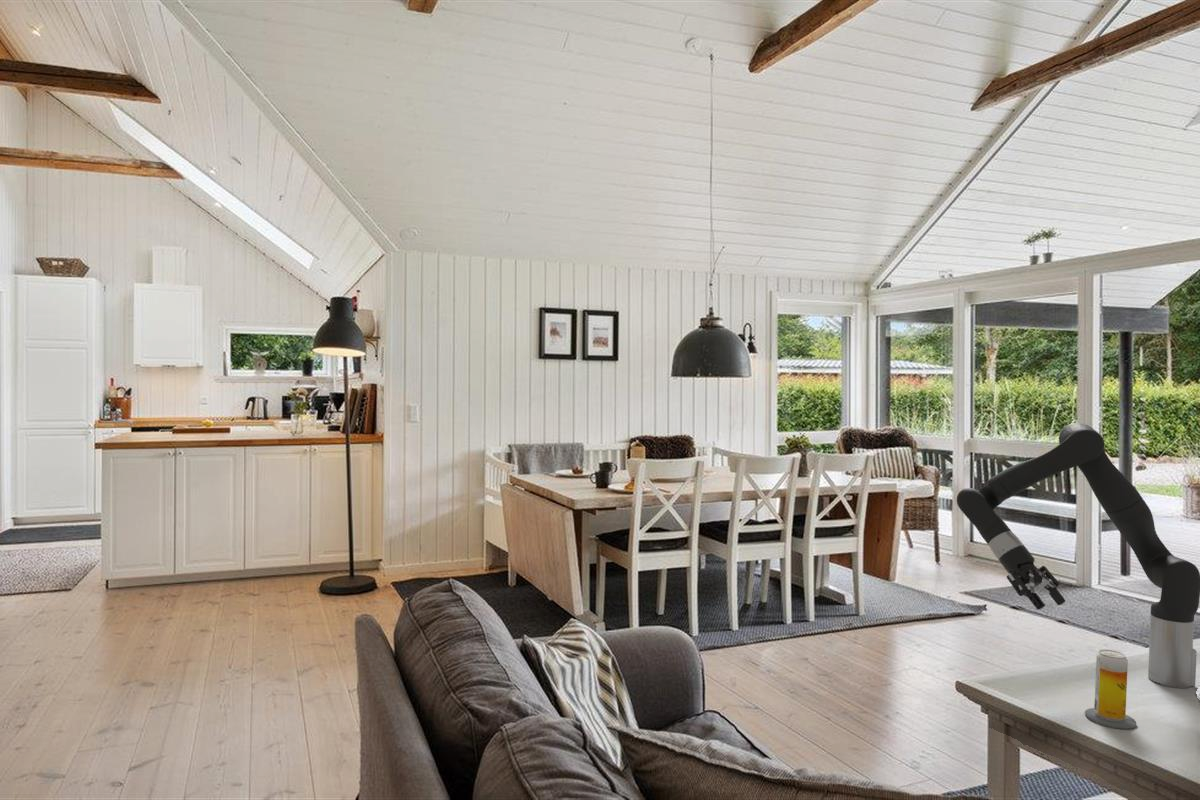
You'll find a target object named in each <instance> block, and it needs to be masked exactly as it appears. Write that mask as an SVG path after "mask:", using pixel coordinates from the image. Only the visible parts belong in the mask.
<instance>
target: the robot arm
mask: <svg viewBox="0 0 1200 800" xmlns="http://www.w3.org/2000/svg"><path fill="white" fill-rule="evenodd" d="M1058 443H1059V444H1057V446H1055V447H1054V448H1052V449H1051V450H1048V451H1047V452H1045V453H1044V454H1041V455H1039V456H1036V457H1033V458H1031V459H1027V460H1025V461H1021V462H1020V463H1016V464H1014V465H1011V466H1010V467H1008V468H1005V469H1004V470H1003V471H1001V472H999V473H996V475H993V476H991V477H990V478H989V479H988V481H987V483H986V484H985V485H984V486H982V487H981V488H979V489H974V488H971V487H969V488H963V489H962V490H960V491H959V493H958V494H957V496H956V504H957V507H958V508H959V510H960V511H961V512H962V513H963V515H965V517H966V518H967V519H968V520H969V522H970V523H972V524H973V525H974V527H975V528H976V529H977V531H978V533H979V534H980V536H981V538H982V539H983V540H984V541H985V543H986V544H987V545H988V547H989V549H990V550H991V551H992V553H993V555H994V556H995V557H996V559H997V560H998V561H999V563H1000V564H1001V566H1003V568H1004V570H1005V571H1006V573H1008V575H1006V579H1007V580H1008V582H1009V583H1010V585H1011V586H1012V587H1013V589H1014V590H1015V592H1016V593H1017V595H1018V596H1019V597H1022V596H1024V597H1025V598H1028V600H1029V601H1030V602H1031V604H1032V605H1033V606H1034V607H1035V609H1037V610H1038V611H1039V610H1042V609H1044V607H1046V604H1045V603H1044V601H1043V600H1042V599H1041V598H1040V596H1039V595H1038V594H1037V592H1035V591H1036V590H1035V588H1034V587H1037V588H1039V589H1043V590H1045V591H1046V592H1047V593H1048V594H1049V596H1050V597H1051V599H1052V600H1053V601H1054V602H1055V604H1056V605H1057V606H1061V605H1063V604H1065V603H1066V599H1065V598H1064V597H1063V595H1062V594H1061V593H1060V591H1059V590H1058V586H1060V582H1059V581H1058V579H1056V578H1055V577H1054V575H1053V574H1052V573H1051V572H1050V570H1049V569H1048V568H1047V567H1046V566H1045V565H1042V566H1040V567H1039V568H1038V567H1037V566H1036V565H1035V563H1034V562H1035V559H1036V558H1035V557H1034V555H1032V553H1031V552H1030V551H1029V549H1028V548H1027V547H1026V546H1025V544H1024V543H1023V542H1022V541H1021V540H1020V539H1019V537H1018V536H1017V535H1016V534H1015V533H1014V532H1013V531H1012V530H1011V529H1010V527H1009V526H1008V525H1007V524H1006V522H1005V520H1003V518H1001V517H1000V516H999V515H998V514H997V513H996V512H995V511H994V510H995V509H996V508H998V506H1000V505H1001V504H1003V502H1005V501H1006V500H1008V499H1010V498H1012V497H1014V496H1016V495H1017V494H1019V493H1021V492H1023V491H1025V490H1026V489H1029V488H1030V487H1032V486H1034V485H1036V484H1039V482H1042V481H1043V480H1046V479H1048V478H1051V477H1052V476H1055V475H1057V474H1060V473H1062V472H1065V471H1067V470H1070V469H1073V468H1076V467H1077V468H1078V469H1079V470H1080V471H1081V473H1082V474H1083V476H1084V477H1085V479H1086V481H1087V483H1088V485H1089V486H1090V488H1091V490H1092V492H1093V493H1094V495H1095V497H1096V499H1097V501H1098V503H1099V504H1100V506H1101V507H1102V509H1103V511H1104V512H1105V514H1106V516H1107V517H1109V519H1110V521H1111V522H1112V523H1113V525H1114V526H1115V527H1116V529H1117V530H1118V531H1119V533H1120V535H1121V536H1122V537H1123V538H1124V540H1125V542H1126V543H1127V544H1128V545H1129V547H1130V548H1131V550H1132V552H1133V554H1134V555H1135V556H1136V558H1137V560H1138V562H1139V564H1140V566H1141V568H1142V570H1143V572H1144V574H1145V575H1146V577H1147V578H1148V581H1150V582H1151V583H1153V585H1155V586H1156V587H1158V588H1160V589H1161V591H1160V592H1161V593H1160V599H1159V601H1156V602H1153V603H1151V605H1150V621H1149V622H1150V623H1149V645H1148V646H1149V647H1148V648H1149V649H1148V667H1147V669H1148V670H1147V672H1148V673H1147V678H1148V677H1149V678H1150V679H1151V680H1150V679H1149V678H1148V679H1149V680H1150V681H1152V680H1153V681H1152V682H1154V681H1155V682H1154V683H1156V682H1157V683H1156V684H1159V683H1160V685H1162V686H1166V687H1171V688H1176V689H1177V688H1179V689H1180V688H1181V689H1186V688H1191V687H1196V677H1197V675H1196V674H1197V656H1198V655H1197V650H1196V649H1194V625H1195V616H1196V613H1197V612H1198V609H1199V606H1200V570H1199V569H1198V567H1197V566H1196V565H1195V564H1194V563H1192V562H1190V561H1188V560H1185V559H1183V558H1180V557H1178V556H1175V555H1174V554H1172V553H1171V551H1170V550H1169V549H1168V548H1167V547H1166V546H1165V544H1164V543H1163V541H1162V540H1161V539H1160V537H1159V535H1158V534H1157V531H1156V527H1155V520H1154V517H1153V512H1152V511H1151V509H1150V507H1149V505H1148V504H1147V503H1146V501H1145V500H1144V498H1143V496H1142V495H1141V494H1140V493H1139V491H1138V490H1137V489H1136V487H1135V486H1134V485H1133V483H1131V482H1130V480H1128V478H1127V477H1126V476H1125V475H1124V474H1123V473H1122V472H1121V471H1120V470H1119V469H1118V468H1117V467H1116V466H1115V464H1113V462H1112V461H1111V459H1110V457H1109V456H1108V454H1107V452H1106V451H1105V447H1106V446H1105V440H1104V438H1103V436H1102V435H1101V433H1099V432H1098V431H1097V430H1096V429H1094V428H1093V427H1091V426H1090V425H1088V424H1085V423H1081V422H1073V423H1069V424H1067V425H1065V426H1064V427H1063V428H1062V429H1061V430H1060V432H1059V435H1058ZM1019 586H1020V587H1019Z"/></svg>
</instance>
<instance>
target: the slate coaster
mask: <svg viewBox="0 0 1200 800" xmlns="http://www.w3.org/2000/svg"><path fill="white" fill-rule="evenodd" d="M1084 716H1085V717H1086V719H1088V720H1089V721H1091V722H1093V723H1095V724H1097V725H1100V726H1103V727H1107V728H1109V727H1110V729H1115V730H1121V731H1122V730H1124V731H1126V730H1128V731H1129V730H1134V729H1135V728H1136V727H1137V721H1136V719H1134V718H1133V717H1131V716H1130V715H1128V714H1126V715H1125V718H1124V719H1123V720H1122V721H1118V722H1117V721H1109V720H1106V719H1103V718H1101V717H1099V716H1098V715H1097V713H1096V712H1095V711H1094V707H1091V708H1090V707H1089V708H1087V709H1086V710H1084Z"/></svg>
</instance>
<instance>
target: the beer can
mask: <svg viewBox="0 0 1200 800" xmlns="http://www.w3.org/2000/svg"><path fill="white" fill-rule="evenodd" d="M1095 657H1096V659H1095V660H1096V661H1095V685H1094V707H1093V708H1094V711H1095V712H1096V713H1097V715H1098V716H1099V717H1101V718H1103V719H1106V720H1109V721H1117V722H1118V721H1122V720H1123V719H1124V718H1125V715H1127V710H1126V709H1127V688H1128V686H1127V685H1128V668H1129V667H1128V665H1129V661H1128V659H1127V656H1126V654H1125V653H1123V652H1120V651H1116V650H1113V649H1100V650H1099V651H1098V652H1097V654H1096V656H1095Z"/></svg>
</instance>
